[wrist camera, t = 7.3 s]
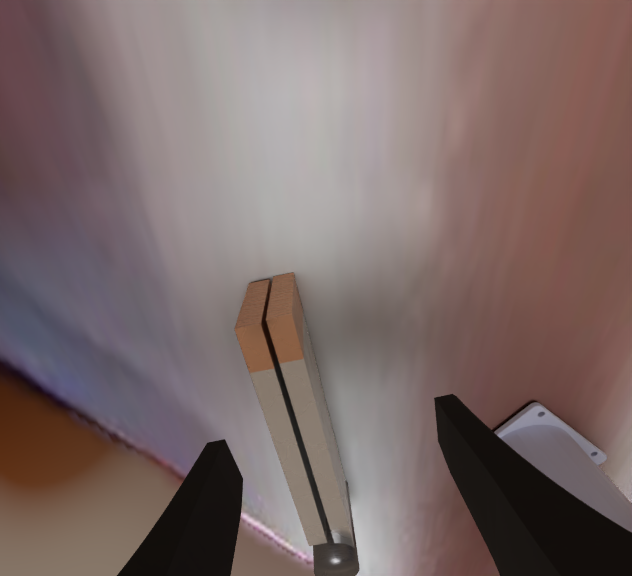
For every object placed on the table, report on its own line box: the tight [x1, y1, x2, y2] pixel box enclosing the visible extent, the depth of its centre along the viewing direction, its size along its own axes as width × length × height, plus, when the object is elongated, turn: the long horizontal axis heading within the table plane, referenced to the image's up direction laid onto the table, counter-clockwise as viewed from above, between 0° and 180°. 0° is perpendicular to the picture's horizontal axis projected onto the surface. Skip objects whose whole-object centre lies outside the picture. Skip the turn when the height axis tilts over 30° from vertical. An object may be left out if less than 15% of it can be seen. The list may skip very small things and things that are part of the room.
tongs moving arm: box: [235, 279, 327, 546], centre depth 21 cm, size 17×1×5 cm, turn 11°
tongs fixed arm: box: [266, 273, 359, 576], centre depth 22 cm, size 20×3×6 cm, turn 12°
